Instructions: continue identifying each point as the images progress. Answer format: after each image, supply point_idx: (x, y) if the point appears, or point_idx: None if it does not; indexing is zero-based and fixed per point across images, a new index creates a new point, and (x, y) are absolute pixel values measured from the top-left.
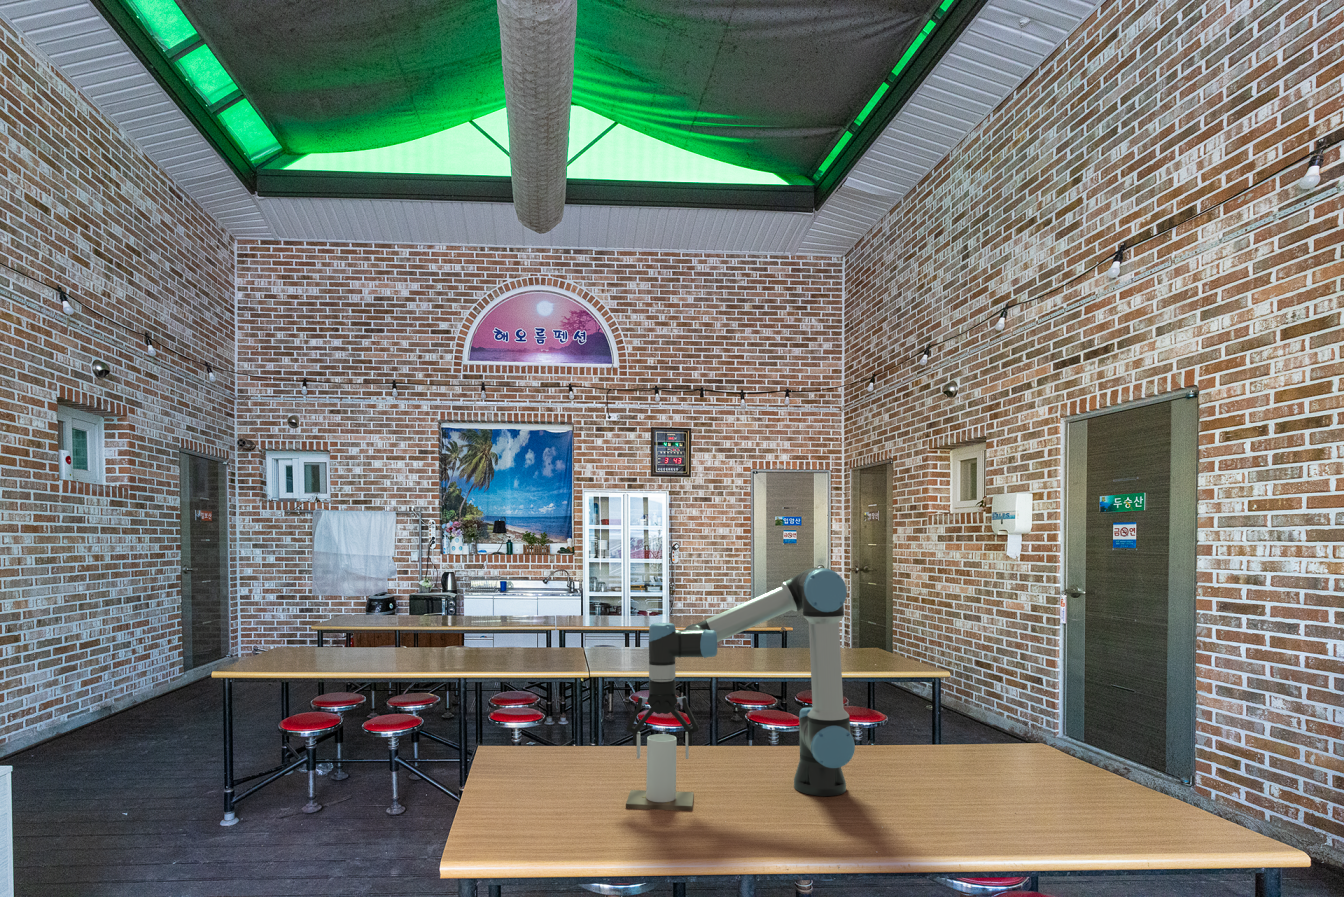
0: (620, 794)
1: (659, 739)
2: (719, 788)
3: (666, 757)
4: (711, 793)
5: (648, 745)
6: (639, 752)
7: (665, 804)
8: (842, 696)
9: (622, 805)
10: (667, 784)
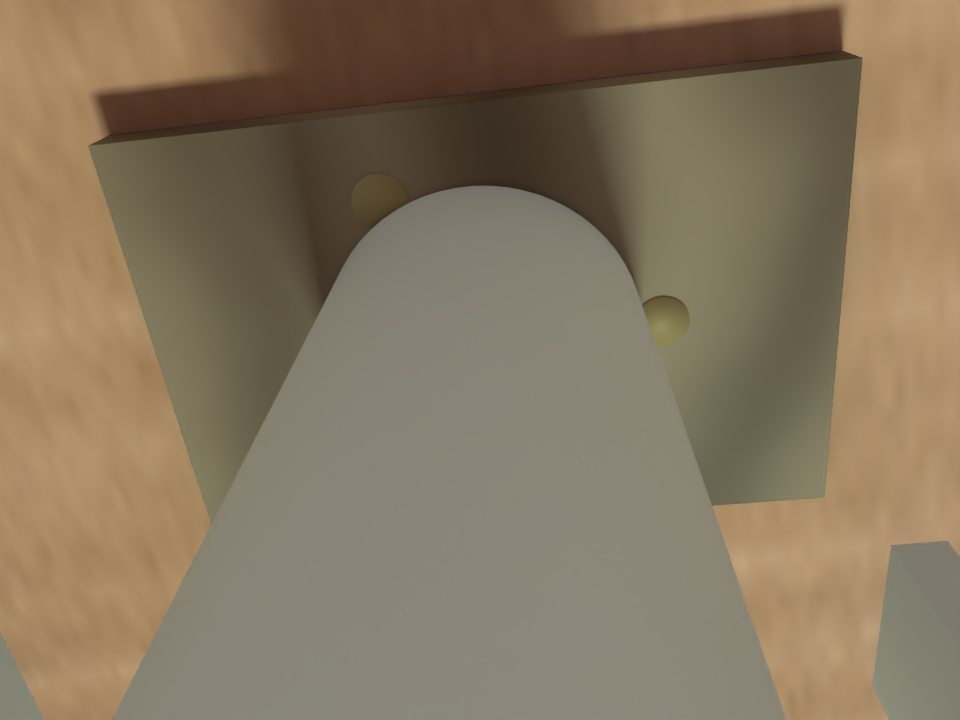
0: (911, 457)
1: None
2: (91, 707)
3: (287, 494)
4: (110, 603)
5: None
6: (947, 640)
7: (390, 135)
8: None
9: (883, 152)
10: (357, 284)
